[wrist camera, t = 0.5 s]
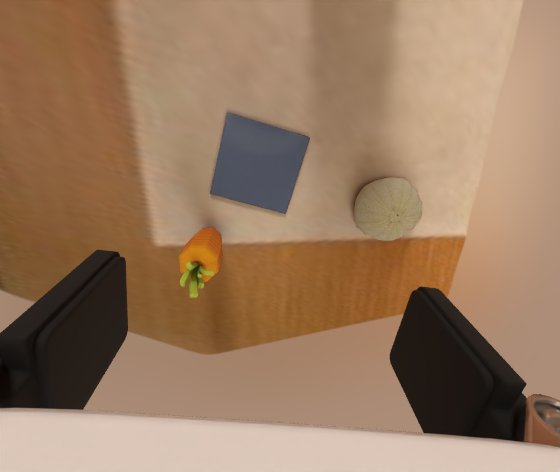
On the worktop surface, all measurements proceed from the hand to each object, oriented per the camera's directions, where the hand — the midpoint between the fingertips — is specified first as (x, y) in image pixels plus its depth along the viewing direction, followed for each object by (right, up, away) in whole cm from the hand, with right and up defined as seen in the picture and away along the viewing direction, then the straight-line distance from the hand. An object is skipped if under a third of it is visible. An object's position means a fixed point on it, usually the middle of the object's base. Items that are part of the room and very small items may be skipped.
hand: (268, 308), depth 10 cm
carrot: (-10, +3, +37) cm, 38 cm away
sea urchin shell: (+15, +7, +36) cm, 40 cm away
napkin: (-3, +12, +33) cm, 35 cm away
